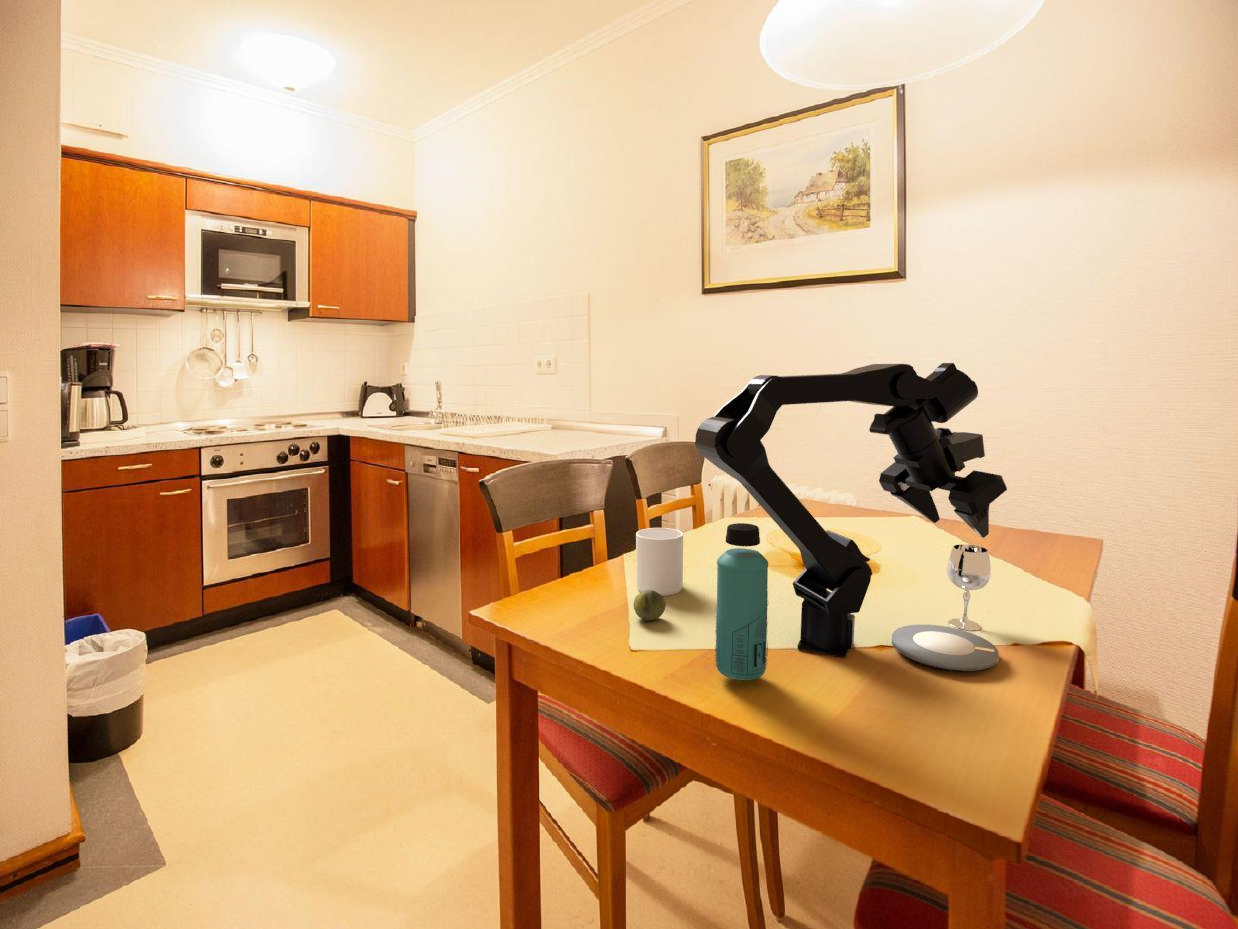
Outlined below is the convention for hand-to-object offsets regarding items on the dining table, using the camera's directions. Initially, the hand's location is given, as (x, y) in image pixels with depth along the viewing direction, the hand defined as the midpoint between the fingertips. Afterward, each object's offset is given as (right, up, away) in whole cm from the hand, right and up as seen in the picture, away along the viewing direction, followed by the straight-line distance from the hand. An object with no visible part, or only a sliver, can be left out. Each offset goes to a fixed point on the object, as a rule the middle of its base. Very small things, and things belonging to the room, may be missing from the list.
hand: (959, 528), depth 96 cm
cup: (-43, -13, +22) cm, 50 cm away
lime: (-45, -15, +6) cm, 48 cm away
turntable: (-6, -17, -7) cm, 19 cm away
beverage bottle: (-35, -18, -14) cm, 42 cm away
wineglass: (+2, -15, +3) cm, 16 cm away
